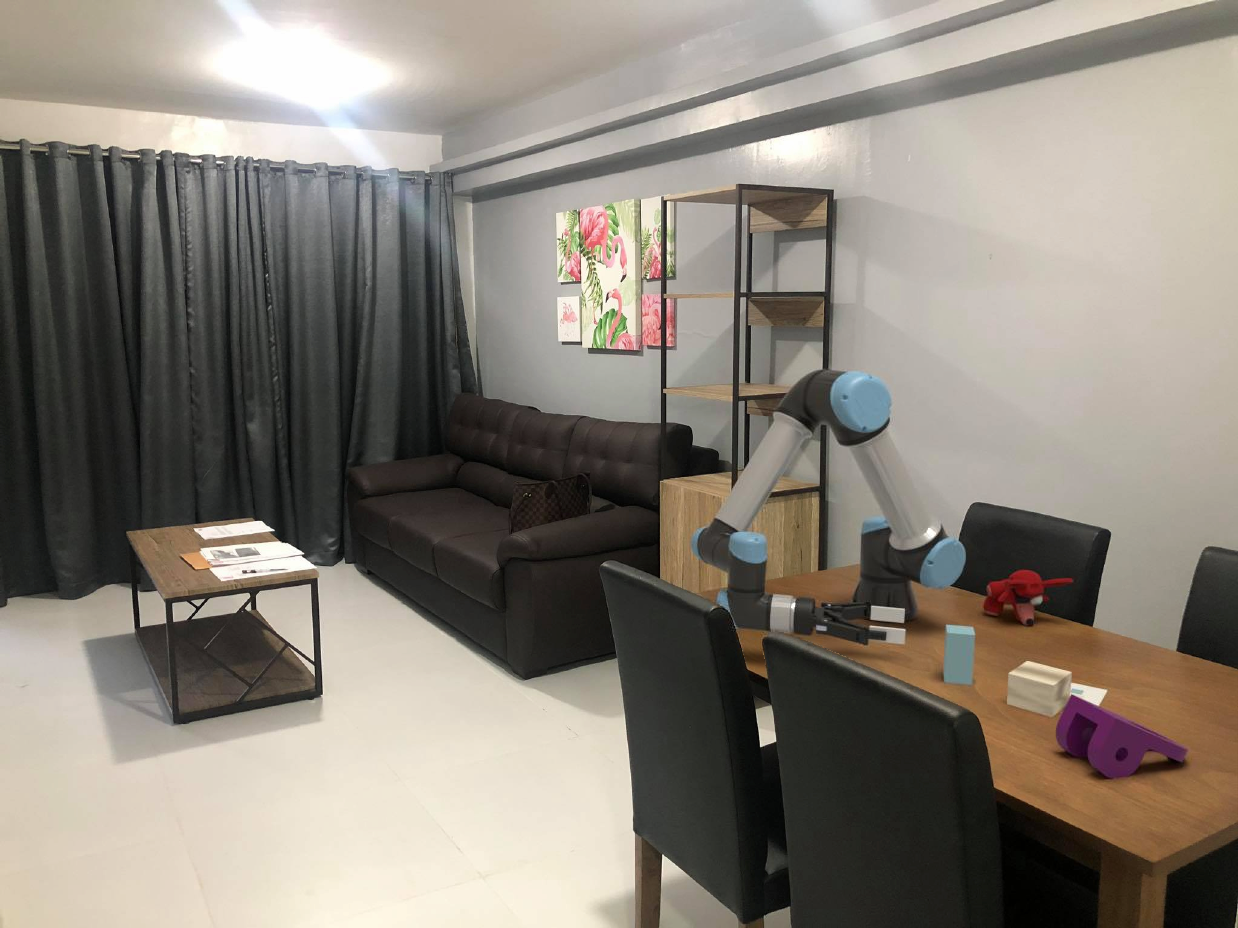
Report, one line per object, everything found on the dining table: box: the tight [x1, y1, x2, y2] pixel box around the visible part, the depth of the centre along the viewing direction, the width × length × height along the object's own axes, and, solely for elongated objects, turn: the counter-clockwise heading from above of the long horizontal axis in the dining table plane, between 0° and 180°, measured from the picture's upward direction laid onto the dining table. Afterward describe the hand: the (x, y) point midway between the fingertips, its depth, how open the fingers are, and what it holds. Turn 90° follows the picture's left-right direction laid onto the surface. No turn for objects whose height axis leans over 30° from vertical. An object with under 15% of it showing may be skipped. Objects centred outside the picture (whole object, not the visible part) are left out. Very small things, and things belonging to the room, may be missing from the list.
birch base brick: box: [1006, 660, 1073, 718], centre depth 176 cm, size 8×8×6 cm
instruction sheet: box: [1070, 682, 1108, 707], centre depth 181 cm, size 12×9×1 cm
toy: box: [982, 569, 1074, 627], centre depth 223 cm, size 16×12×16 cm
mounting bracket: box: [1055, 694, 1189, 780], centre depth 155 cm, size 10×9×19 cm
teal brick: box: [942, 624, 976, 686], centre depth 188 cm, size 5×5×10 cm
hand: (904, 625), depth 189 cm, fingers open, 13 cm apart
